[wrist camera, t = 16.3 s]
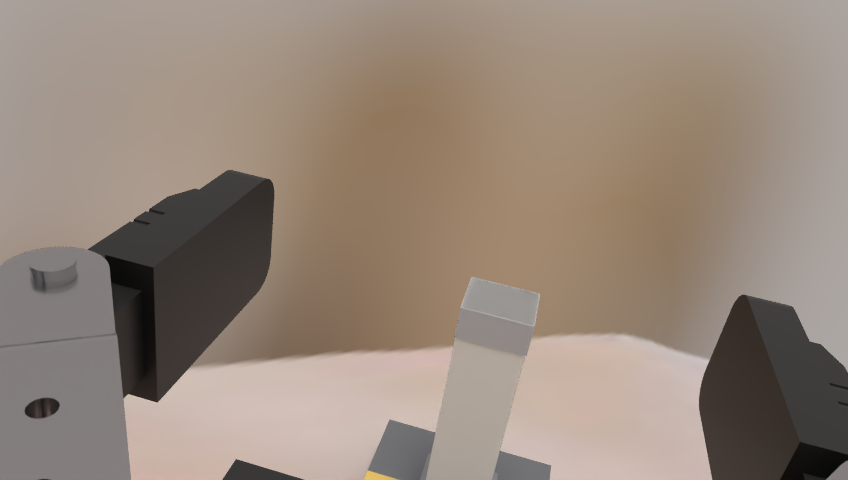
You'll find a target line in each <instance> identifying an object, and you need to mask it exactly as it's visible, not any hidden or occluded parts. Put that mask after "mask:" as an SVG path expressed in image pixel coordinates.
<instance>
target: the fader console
mask: <svg viewBox="0 0 848 480" xmlns="http://www.w3.org/2000/svg"><path fill="white" fill-rule="evenodd" d="M434 438H435V432H431V431H428V430H424V429H421V428H417V427H414V426H410V425H407V424H403V423H400V422H396V421H393V420H389V422H388V425H387V427H386V429H385V432H384V434H383V436H382V439H381V441H380V444H379V446H378V448H377V451H376V453H375V455H374V458H373V460H372V462H371V465H370V467H369V469H368V471H367V473H366V476H365V478H364V480H420V478H421V475H422V472H423V469H424V466H425V463H426V460H427V457H428V454H431V452H432V447H433V443H434ZM550 469H551V465H547V464H544V463H540V462H537V461H533V460H530V459H526V458H523V457H519V456H516V455H512V454H509V453H505V452H501V451H500V452H499V455H498V459H497V463H496V467H495V470H494V472H495V473H498V477H497V480H549V479H550Z"/></svg>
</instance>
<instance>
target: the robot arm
mask: <svg viewBox="0 0 848 480" xmlns="http://www.w3.org/2000/svg"><path fill="white" fill-rule="evenodd" d="M273 207H274V187H273V183H272V182H271V180H270V179H266V178H261V177H257V176H254V175H249V174H245V173H241V172H237V171H233V170H228V171H226V172H224V173H223V174H221V175H220V176H218V177H217V178H215V179H214V180H213V181H211V182H210V183H208V184H207V185H205V186H204V187H202V188H201V189H200V190H198V189H192V190H189V191H186V192H182V193H179V194H175V195H172V196H169V197H167V198H165V199H164V200H162V201H161V202H159V203H158V204H156V205H155V206H153V207H152V208H150V209H149V212H144V213H142V214H141V215H139V216H138V217H136V218H135V219H134V222H129V223H127V224H126V225H124V226H123V227H121V228H120V229H118V230H117V231H115V232H114V233H112V234H110V235H109V236H108V237H106V238H104V239H103V240H101V241H100V242H98V243H97V244H95V245H94V246H92V247H91V248H89V249H88V250H86V249H81V248H75V247H49V248H41V249H36V250H32V251H28V252H25V253H22V254H19V255H17V256H14V257H12V258H11V259H9V260H7V261H6V262H4V263H3V264H2V265H1V266H0V480H131V474H130V464H129V453H128V443H127V432H126V422H125V411H124V401H123V398H124V397H125V396H126V395H127V394H130V395H134V396H137V397H141V398H144V399H147V400H151V401H154V402H158V401H159V400H160V399H161V398H162V397H163V396H164V395H165V394H166V393H167V392H168V390H169V389H170V388H171V387H172V386H173V385H174V384H175V383H176V382H177V381H178V379H179V378H180V377H181V376H182V375H183V374H184V373H185V372H186V371H187V370H188V368H189V367H190V366H191V365H192V364H193V363H194V362H195V361H196V360H197V358H198V357H199V356H200V355H201V354H202V353H203V352H204V351H205V350H206V348H207V347H208V346H209V345H210V344H211V343H212V342H213V341H214V340H215V339H216V338H217V337H218V335H219V334H220V333H221V332H222V331H223V330H224V329H225V328H226V326H228V324H229V323H230V322H231V321H232V320H233V319H234V318H235V317H236V315H237V314H238V313H239V312H240V311H241V310H242V309H243V308H244V307H245V306H246V305H247V303H248V302H249V301H250V300H251V299H252V298H253V297H254V296H255V295H256V294H257V292H258V291H259V290H260V288H261V287H262V285H263V283H264V281H265V279H266V276H267V273H268V269H269V265H270V258H271V242H272V224H273ZM699 410H700V416H701V421H702V426H703V432H704V437H705V442H706V448H707V453H708V458H709V464H710V469H711V474H712V480H848V373H847V371H846V369H845V367H844V366H843V365H842V364H841V363H839V361H838V360H837V359H836V358H834V357H833V356H832V355H831V354H830V353H829V352H828V351H827V350H826V349H825V348H824V347H823V346H822V345H821V344H817V343H813V342H809V339H808V337H807V335H806V333H805V331H804V329H803V327H802V325H801V322H800V320H799V318H798V316H797V314H796V312H795V310H794V308H793V307H792V306H788V305H785V304H780V303H776V302H772V301H768V300H763V299H760V298H755V297H751V296H747V295H741V296H739V297H738V299H737V300H736V301H735V303H734V305H733V307H732V309H731V311H730V314H729V316H728V318H727V321H726V323H725V325H724V328H723V331H722V333H721V335H720V338H719V340H718V342H717V345H716V347H715V349H714V352H713V354H712V356H711V359H710V361H709V363H708V366H707V368H706V371H705V373H704V376H703V380H702V384H701V388H700V396H699ZM223 480H303V479H300V478H297V477H293V476H290V475H287V474H283V473H280V472H277V471H273V470H270V469H267V468H263V467H260V466H257V465H254V464H250V463H247V462H244V461H240V460H237V459H236V460H235V462H234V463H233V465H232V466H231V468H230V469H229V471H228V472H227V474H226V475H225V477H224V478H223Z"/></svg>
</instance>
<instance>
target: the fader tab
mask: <svg viewBox="0 0 848 480" xmlns="http://www.w3.org/2000/svg"><path fill="white" fill-rule="evenodd" d="M539 297H540V294H538V293H534V292H530V291H526V290H522V289H518V288H514V287H510V286H506V285H502V284H498V283H494V282H490V281H486V280H482V279H478V278H474V277H472V278H471V280H470V283H469V286H468V289H467V291H466V294H465V297H464V300H463V303H462V305H461V309H460V313H459V318H458V323H457V328H456V332H455V337H456V338H455V343H454V347H453V352H452V357H451V362H450V366H449V371H448V376H447V381H446V386H445V390H444V395H443V400H442V405H441V409H440V414H439V419H438V424H437V428H436V433H435V438H434V443H433V447H432V452H431V454H428V457H427V460H426V463H425V466H424V469H423V472H422V475H421V478H420V480H497V477H498V473H495V472H494V470H495V467H496V463H497V459H498V455H499V452H500V448H501V444H502V441H503V437H504V433H505V429H506V426H507V422H508V418H509V415H510V411H511V407H512V404H513V400H514V396H515V392H516V389H517V385H518V381H519V378H520V374H521V370H522V366H523V363H524V359H525V356H527V352H528V349H529V345H530V341H531V338H532V333H533V330H534V327H535V320H536V315H537V309H538V303H539Z"/></svg>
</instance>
